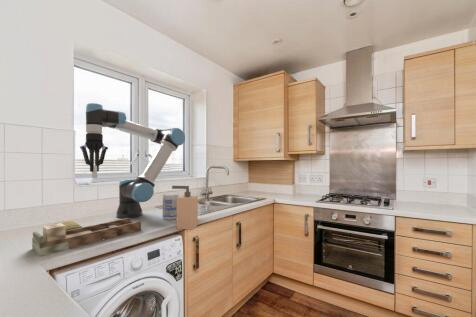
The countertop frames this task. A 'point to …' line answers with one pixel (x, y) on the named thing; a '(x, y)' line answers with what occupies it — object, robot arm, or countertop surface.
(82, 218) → the countertop surface
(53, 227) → the block
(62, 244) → the tray
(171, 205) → the supplement tub
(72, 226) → the carton
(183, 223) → the soap dispenser
